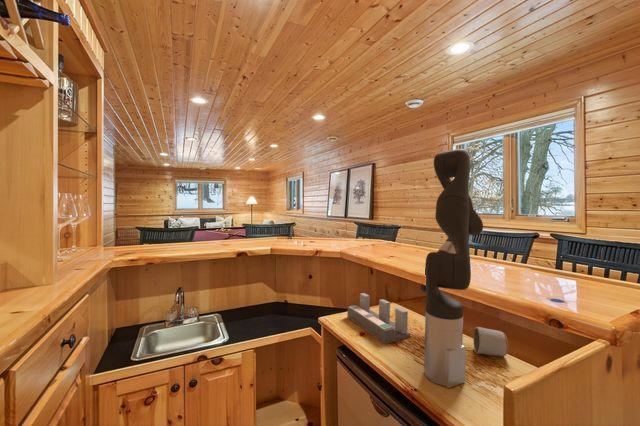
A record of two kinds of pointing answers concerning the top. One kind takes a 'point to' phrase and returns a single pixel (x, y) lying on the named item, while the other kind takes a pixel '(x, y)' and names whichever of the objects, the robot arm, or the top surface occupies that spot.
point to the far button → (365, 302)
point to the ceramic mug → (490, 342)
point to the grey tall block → (401, 320)
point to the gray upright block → (384, 311)
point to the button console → (375, 325)
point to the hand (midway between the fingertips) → (423, 290)
